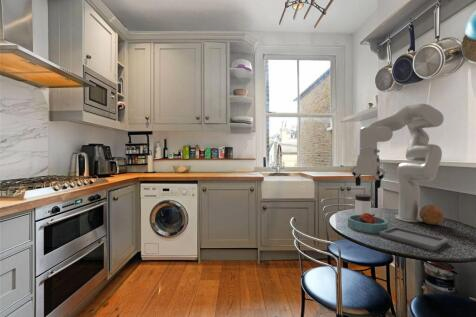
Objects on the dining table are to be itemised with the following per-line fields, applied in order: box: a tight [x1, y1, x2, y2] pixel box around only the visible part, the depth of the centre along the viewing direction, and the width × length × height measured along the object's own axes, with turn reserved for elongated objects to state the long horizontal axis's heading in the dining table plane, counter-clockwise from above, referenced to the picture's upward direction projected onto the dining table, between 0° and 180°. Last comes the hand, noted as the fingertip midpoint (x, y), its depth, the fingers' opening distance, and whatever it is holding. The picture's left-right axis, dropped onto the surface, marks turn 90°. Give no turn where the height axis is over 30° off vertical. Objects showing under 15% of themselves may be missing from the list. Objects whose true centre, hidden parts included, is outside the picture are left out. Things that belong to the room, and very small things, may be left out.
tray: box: [378, 226, 449, 253], centre depth 104 cm, size 14×20×2 cm
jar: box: [354, 193, 372, 215], centre depth 143 cm, size 9×8×12 cm
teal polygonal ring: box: [347, 214, 388, 234], centre depth 122 cm, size 17×17×4 cm
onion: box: [419, 204, 444, 225], centre depth 126 cm, size 10×10×10 cm
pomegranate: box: [360, 213, 376, 224], centre depth 122 cm, size 7×7×10 cm
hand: (367, 186), depth 121 cm, fingers open, 9 cm apart
